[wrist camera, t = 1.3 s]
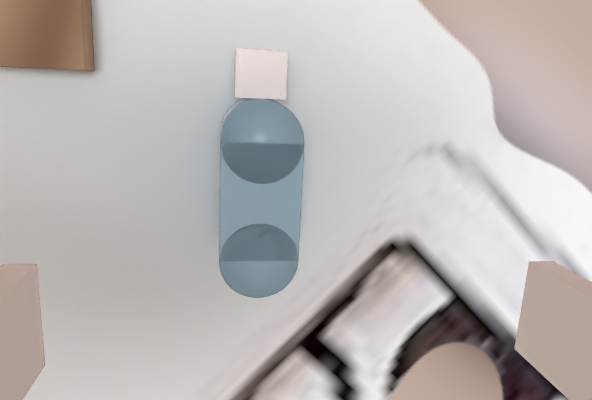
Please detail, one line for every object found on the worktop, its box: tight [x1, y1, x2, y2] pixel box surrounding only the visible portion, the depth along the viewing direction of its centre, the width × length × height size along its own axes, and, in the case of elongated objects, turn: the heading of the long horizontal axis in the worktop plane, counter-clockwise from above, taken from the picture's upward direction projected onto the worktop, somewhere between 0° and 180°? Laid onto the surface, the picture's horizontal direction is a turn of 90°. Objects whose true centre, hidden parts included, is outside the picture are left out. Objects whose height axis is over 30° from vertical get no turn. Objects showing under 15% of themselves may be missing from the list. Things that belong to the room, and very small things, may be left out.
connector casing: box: [219, 48, 304, 298], centre depth 26 cm, size 4×12×6 cm, turn 177°
